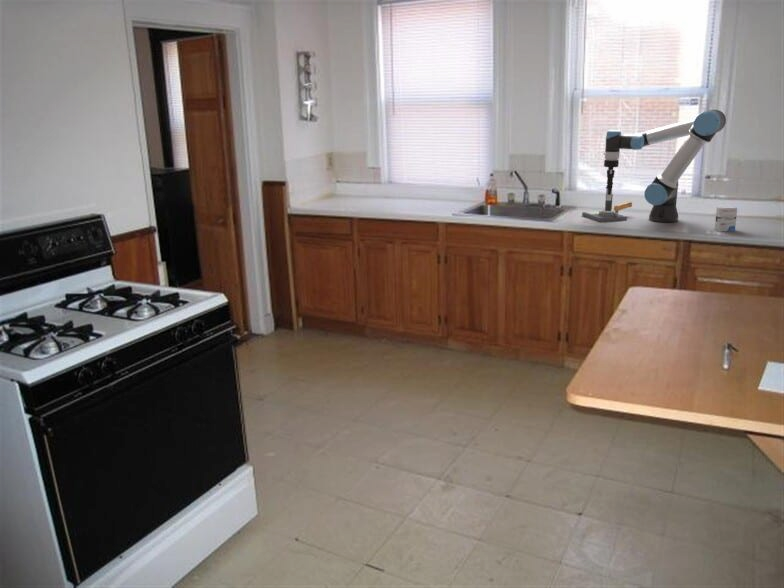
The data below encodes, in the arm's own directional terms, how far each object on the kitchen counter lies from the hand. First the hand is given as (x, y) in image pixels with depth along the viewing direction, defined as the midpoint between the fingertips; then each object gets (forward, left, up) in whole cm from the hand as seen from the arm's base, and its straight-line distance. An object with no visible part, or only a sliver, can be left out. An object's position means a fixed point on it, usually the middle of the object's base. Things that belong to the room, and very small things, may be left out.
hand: (608, 198), depth 390 cm
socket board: (+4, 0, -12) cm, 12 cm away
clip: (0, -9, -6) cm, 11 cm away
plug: (0, 0, -10) cm, 10 cm away
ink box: (-46, -39, -12) cm, 62 cm away
